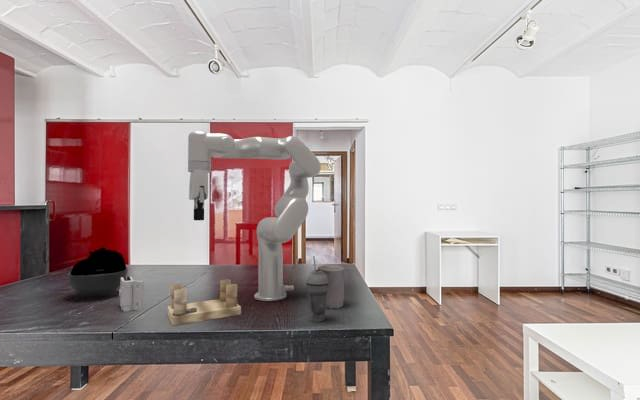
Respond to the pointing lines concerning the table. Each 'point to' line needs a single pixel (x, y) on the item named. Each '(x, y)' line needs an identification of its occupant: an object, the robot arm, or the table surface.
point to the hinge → (131, 294)
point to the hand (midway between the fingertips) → (198, 220)
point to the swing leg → (181, 302)
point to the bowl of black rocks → (98, 273)
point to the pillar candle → (334, 285)
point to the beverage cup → (317, 293)
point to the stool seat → (208, 305)
